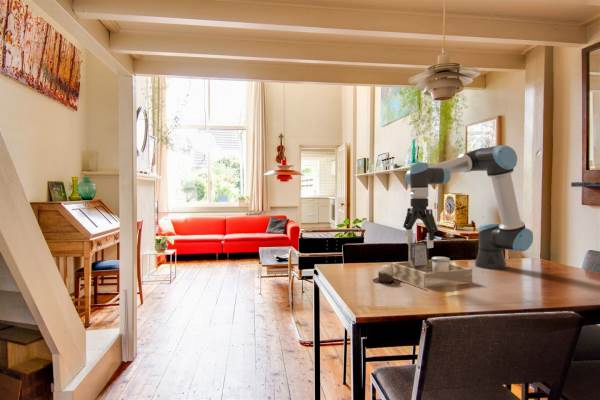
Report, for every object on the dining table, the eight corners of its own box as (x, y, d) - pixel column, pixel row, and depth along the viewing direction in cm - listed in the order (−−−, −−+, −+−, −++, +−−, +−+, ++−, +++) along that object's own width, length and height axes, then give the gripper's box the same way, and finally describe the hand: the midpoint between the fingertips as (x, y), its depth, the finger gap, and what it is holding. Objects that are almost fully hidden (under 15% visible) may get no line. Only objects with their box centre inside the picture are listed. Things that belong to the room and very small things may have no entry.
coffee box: (429, 282, 160) (429, 245, 159) (414, 282, 159) (414, 245, 159) (422, 277, 169) (422, 242, 168) (408, 277, 169) (408, 242, 168)
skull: (374, 275, 174) (389, 260, 171) (390, 291, 171) (405, 276, 168) (367, 279, 163) (383, 263, 161) (384, 297, 160) (401, 281, 157)
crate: (390, 277, 173) (391, 263, 173) (433, 273, 182) (433, 259, 182) (425, 290, 150) (426, 273, 150) (472, 285, 159) (472, 269, 159)
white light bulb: (428, 276, 170) (428, 257, 170) (441, 275, 173) (441, 256, 173) (439, 280, 163) (439, 260, 163) (453, 278, 166) (453, 258, 166)
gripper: (395, 197, 173) (395, 242, 174) (431, 198, 150) (432, 250, 151) (408, 197, 176) (409, 241, 177) (446, 198, 153) (446, 249, 153)
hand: (419, 245), depth 164 cm, fingers open, 13 cm apart
